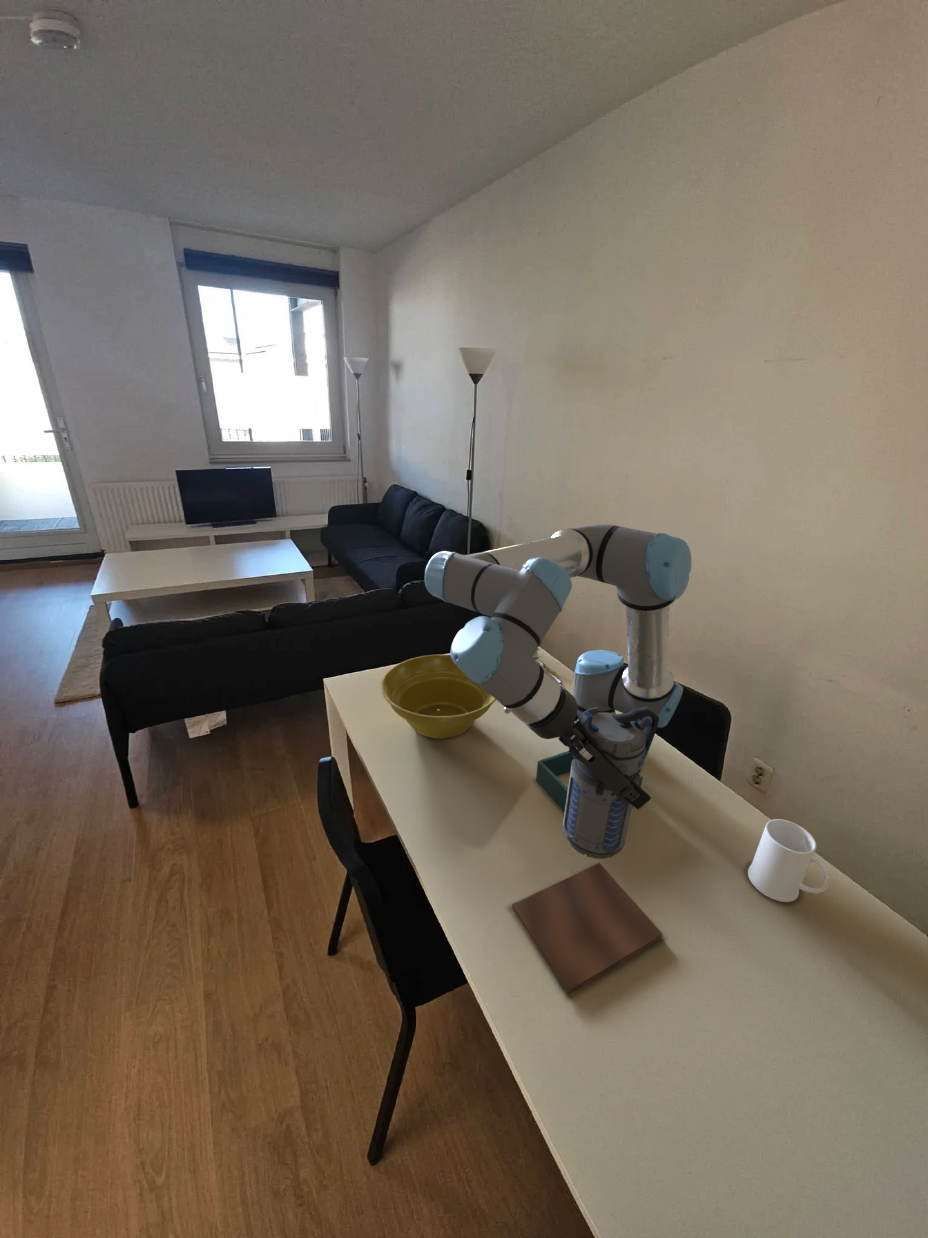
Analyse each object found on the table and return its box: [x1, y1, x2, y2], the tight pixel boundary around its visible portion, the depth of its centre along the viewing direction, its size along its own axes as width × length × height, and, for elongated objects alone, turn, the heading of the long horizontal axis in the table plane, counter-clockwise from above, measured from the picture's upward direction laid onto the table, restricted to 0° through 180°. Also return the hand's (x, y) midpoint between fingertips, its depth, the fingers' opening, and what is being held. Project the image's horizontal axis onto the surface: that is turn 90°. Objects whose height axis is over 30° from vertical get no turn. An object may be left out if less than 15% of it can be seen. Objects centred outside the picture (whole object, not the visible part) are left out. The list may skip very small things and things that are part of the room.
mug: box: [747, 818, 830, 903], centre depth 93 cm, size 12×8×12 cm
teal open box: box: [535, 747, 644, 814], centre depth 117 cm, size 19×15×9 cm
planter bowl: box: [380, 654, 497, 739], centre depth 138 cm, size 32×32×13 cm
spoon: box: [536, 659, 561, 684], centre depth 169 cm, size 5×18×1 cm, turn 25°
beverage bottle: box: [562, 707, 659, 860], centre depth 79 cm, size 10×13×25 cm
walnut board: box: [511, 862, 664, 996], centre depth 88 cm, size 20×16×1 cm
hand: (625, 778), depth 80 cm, fingers closed on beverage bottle, 10 cm apart
